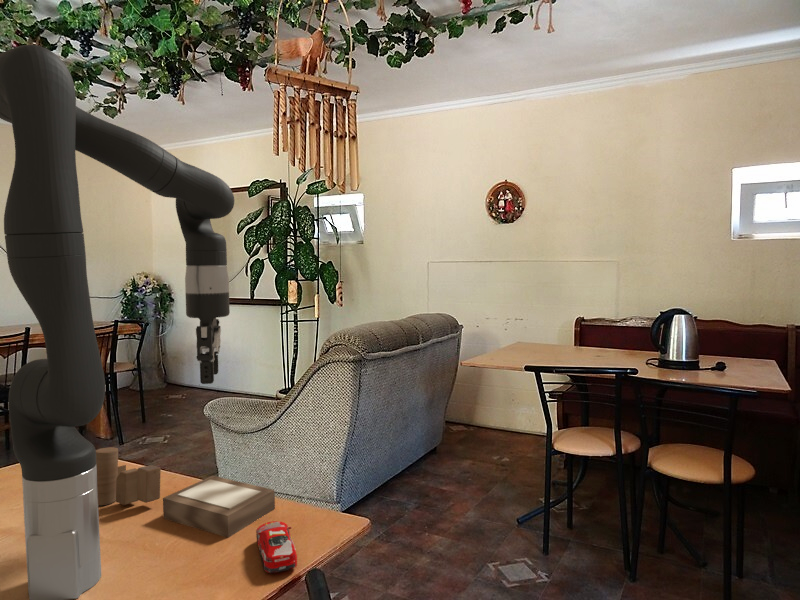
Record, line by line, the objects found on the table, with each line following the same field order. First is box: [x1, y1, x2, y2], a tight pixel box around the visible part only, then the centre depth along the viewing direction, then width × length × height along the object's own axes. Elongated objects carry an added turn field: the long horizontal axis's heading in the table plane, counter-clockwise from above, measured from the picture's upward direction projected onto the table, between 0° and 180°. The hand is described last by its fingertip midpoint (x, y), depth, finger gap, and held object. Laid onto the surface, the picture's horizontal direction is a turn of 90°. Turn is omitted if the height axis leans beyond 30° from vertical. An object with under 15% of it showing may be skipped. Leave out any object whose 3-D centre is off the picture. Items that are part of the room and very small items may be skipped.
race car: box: [255, 520, 298, 574], centre depth 88 cm, size 13×5×4 cm, turn 20°
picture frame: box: [162, 475, 276, 538], centre depth 103 cm, size 16×12×4 cm
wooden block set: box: [95, 446, 162, 506], centre depth 110 cm, size 18×9×10 cm, turn 56°
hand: (209, 378), depth 102 cm, fingers open, 8 cm apart
